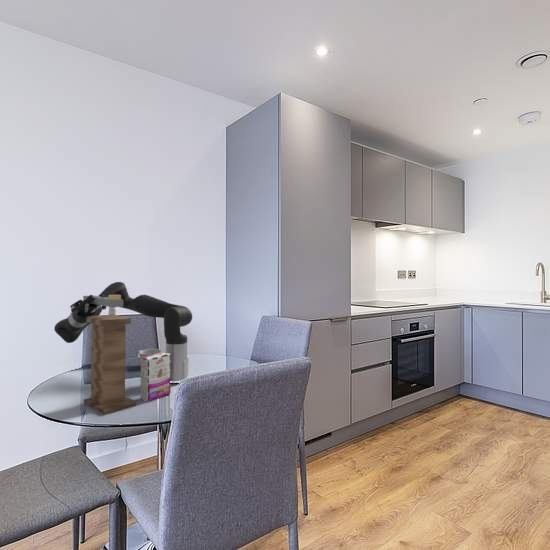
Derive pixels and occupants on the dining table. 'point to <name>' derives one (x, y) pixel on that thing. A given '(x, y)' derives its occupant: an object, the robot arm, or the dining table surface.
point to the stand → (108, 364)
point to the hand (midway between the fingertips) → (98, 296)
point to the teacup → (147, 353)
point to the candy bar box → (155, 376)
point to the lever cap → (107, 300)
